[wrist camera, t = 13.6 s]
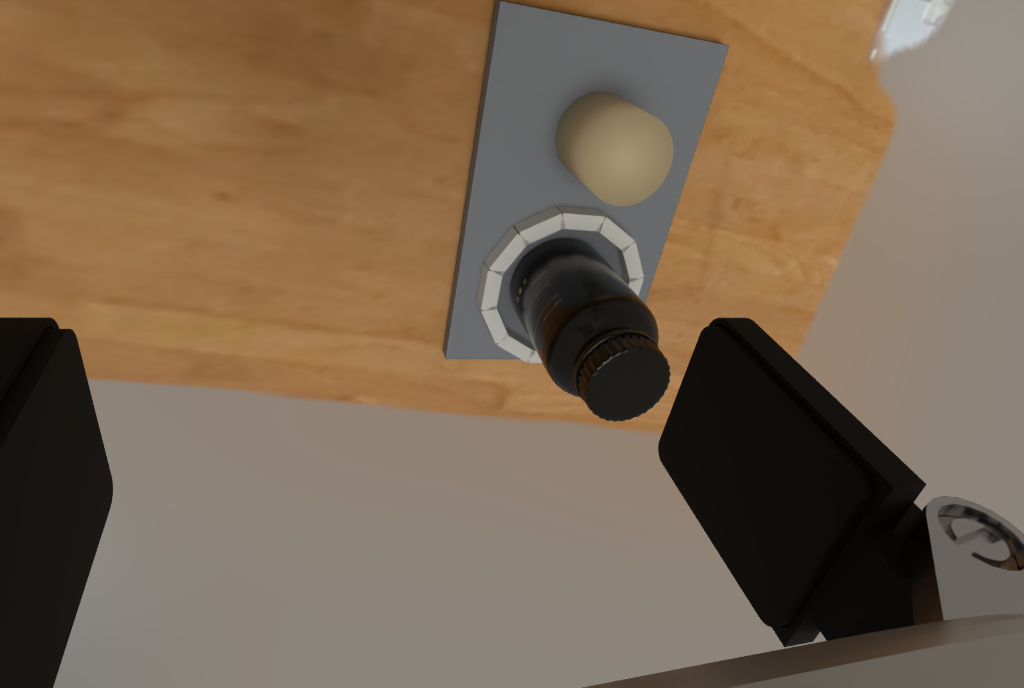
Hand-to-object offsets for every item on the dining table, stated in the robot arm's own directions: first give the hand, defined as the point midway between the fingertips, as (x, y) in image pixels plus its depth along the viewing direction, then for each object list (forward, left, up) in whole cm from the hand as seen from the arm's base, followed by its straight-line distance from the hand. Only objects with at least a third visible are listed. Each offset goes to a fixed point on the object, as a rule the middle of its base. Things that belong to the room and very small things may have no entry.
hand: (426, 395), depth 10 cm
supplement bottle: (+11, +14, -28) cm, 33 cm away
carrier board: (+7, +15, -29) cm, 33 cm away
